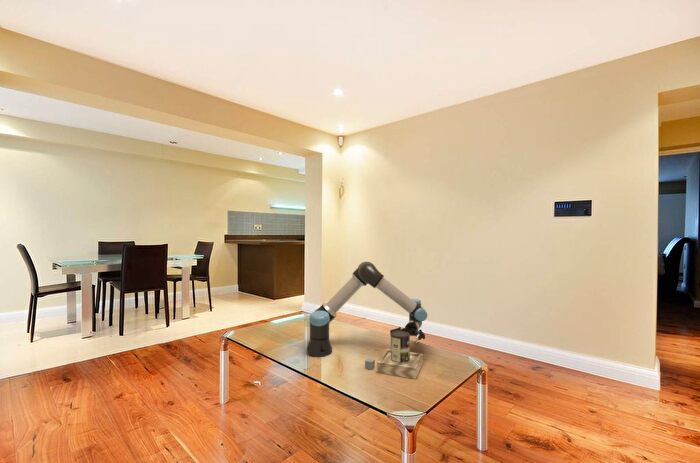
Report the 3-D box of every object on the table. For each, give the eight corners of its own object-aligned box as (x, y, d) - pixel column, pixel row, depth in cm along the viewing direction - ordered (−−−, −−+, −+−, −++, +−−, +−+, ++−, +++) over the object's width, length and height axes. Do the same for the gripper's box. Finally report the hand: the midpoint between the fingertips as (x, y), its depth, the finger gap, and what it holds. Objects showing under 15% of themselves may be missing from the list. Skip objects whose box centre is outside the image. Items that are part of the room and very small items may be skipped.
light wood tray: (376, 372, 162) (376, 362, 162) (387, 357, 180) (387, 348, 180) (415, 379, 154) (415, 368, 154) (422, 363, 173) (422, 353, 173)
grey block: (365, 368, 166) (365, 361, 166) (367, 365, 170) (367, 358, 170) (372, 369, 165) (372, 362, 165) (374, 366, 168) (374, 359, 168)
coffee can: (410, 357, 171) (410, 331, 171) (409, 364, 161) (409, 337, 161) (391, 355, 173) (391, 330, 173) (389, 363, 163) (389, 335, 163)
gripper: (432, 336, 189) (427, 348, 170) (392, 331, 199) (382, 342, 179) (432, 324, 189) (427, 334, 170) (392, 319, 199) (382, 329, 179)
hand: (404, 338), depth 175 cm, fingers open, 13 cm apart
